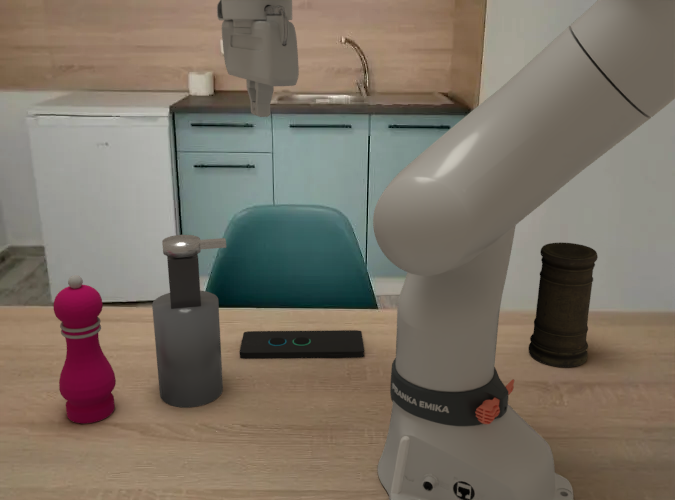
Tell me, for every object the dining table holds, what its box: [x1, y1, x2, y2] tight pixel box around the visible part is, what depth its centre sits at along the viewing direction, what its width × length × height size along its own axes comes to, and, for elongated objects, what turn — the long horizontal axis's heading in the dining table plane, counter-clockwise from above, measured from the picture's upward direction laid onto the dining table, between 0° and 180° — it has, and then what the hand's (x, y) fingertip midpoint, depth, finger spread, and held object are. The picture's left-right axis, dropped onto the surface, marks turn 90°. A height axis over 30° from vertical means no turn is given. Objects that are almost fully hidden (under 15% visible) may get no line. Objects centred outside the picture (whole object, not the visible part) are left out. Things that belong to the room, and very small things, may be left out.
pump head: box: [161, 234, 227, 258], centre depth 95 cm, size 8×5×9 cm, turn 104°
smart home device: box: [239, 329, 365, 360], centre depth 114 cm, size 8×2×20 cm
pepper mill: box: [53, 274, 117, 424], centre depth 92 cm, size 7×7×20 cm
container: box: [528, 242, 599, 368], centre depth 110 cm, size 9×9×18 cm
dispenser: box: [151, 253, 224, 409], centre depth 97 cm, size 9×9×21 cm
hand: (260, 115), depth 93 cm, fingers closed
